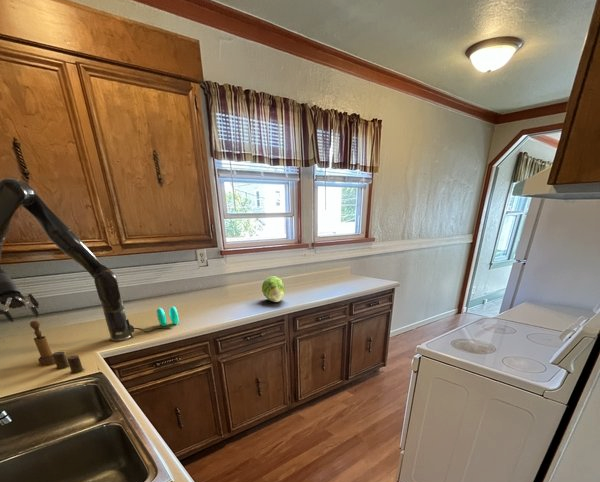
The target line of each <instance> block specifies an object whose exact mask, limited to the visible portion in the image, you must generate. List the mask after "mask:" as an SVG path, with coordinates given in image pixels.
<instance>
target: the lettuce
mask: <svg viewBox="0 0 600 482" xmlns="http://www.w3.org/2000/svg"><path fill="white" fill-rule="evenodd" d="M285 290H286V288H285V284H284V283H283V281H282V279H281V278H280V277H278V276H275V275H273V276H268V277H267V278H265V279H264V281H263V282H262V285H261V292H262V294H263V295H264V297H265V298H266V299H267V300H268V301H270V302H273V303H278V302H280V301H281V300H282V299H283V298H284V295H285Z"/></svg>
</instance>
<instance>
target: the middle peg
mask: <svg viewBox="0 0 600 482" xmlns="http://www.w3.org/2000/svg"><path fill="white" fill-rule="evenodd" d="M52 355H53V357H54V360H55V366H56V369H59V370H61V369H66V368H68V367H70V366H69V363H68V360H67V356H66V353H65V351H56V352H53V353H52Z"/></svg>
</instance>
